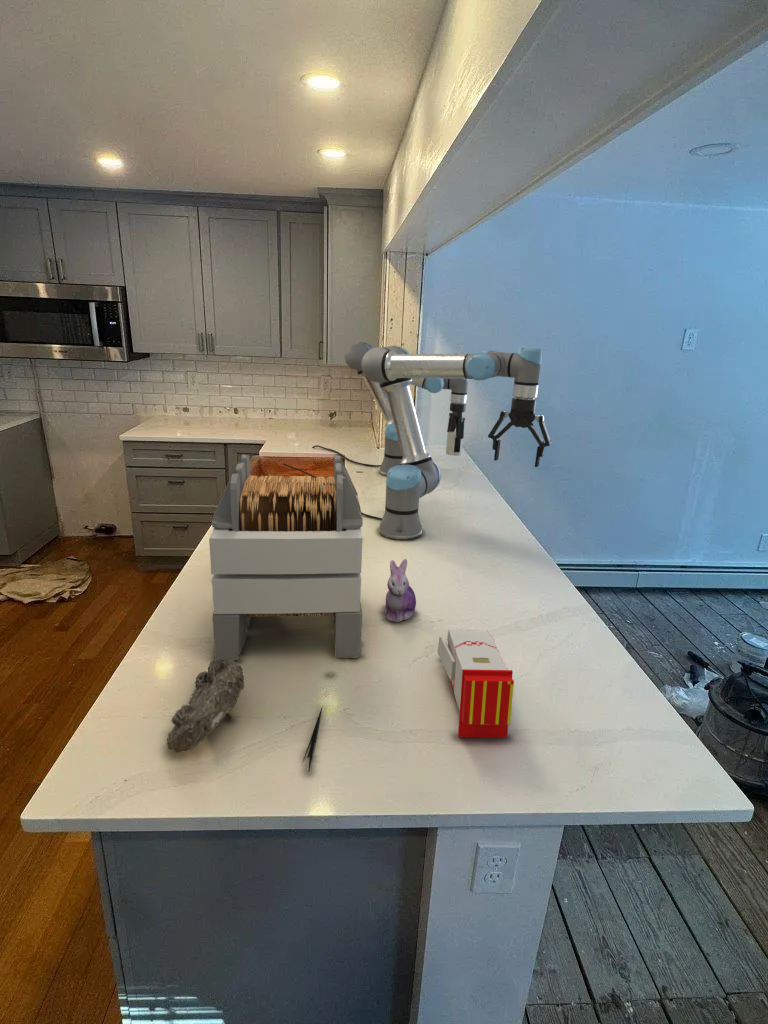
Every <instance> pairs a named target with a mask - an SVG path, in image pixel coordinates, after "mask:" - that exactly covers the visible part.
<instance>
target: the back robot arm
mask: <svg viewBox="0 0 768 1024" xmlns="http://www.w3.org/2000/svg"><path fill="white" fill-rule="evenodd" d="M373 348H374V346H373V345H371V343H367V342H358V343H353V344H350V345H349V346H348V347H347V348H346V349H345V352H344V362H345V363H346V366H348V367H349V368H351V369H352V370H355V372H356V373H357V375H358V377H361V378H363V380H364V382H365V383H366V386H367V388H368V389H369V391H370V393H371V395H372V397H373V399H374V401H375V403H376V405H377V407H378V409H379V410H380V412H381V414H382V416H383V418H384V420H385V425H384V427H385V430H384V448H383V449H384V451H383V453H384V454H383V458H382V461H381V464H369V463H363V462H359V461H354V460H352V459H350V458H348V457H346V456H345V455H344V454H342V453H341V452H339V451H337V450H335V449H332V448H327V447H325V446H321V445H317V444H315V445H313V446H312V447H311V449H314V448H320V449H323V450H327V451H330V452H333V453H336V454H337V455H338V456H340V457H341V458H343V459H345V460H347V461H348V462H349V463H353V464H355V465H361V466H365V467H374V468H379V474H380V475H382V476H384V477H387V473H388V471H389V469H391V468H392V467H394V466H397V465H399V466H400V462H401V460H402V459H403V456H402V452H401V448H400V444H399V441H398V437H397V433H396V429H395V425H394V421H393V417H392V414H391V410H390V406H389V402H388V398H387V394H386V392H384V391H383V390H381V388H380V384H379V382H373V381H371V380H369V379H368V378H367V377H366V376H365V375H364V373H363V371H362V359H363V357H364V355H365V354H366V353H367V352H368V351H369V350H371V349H373ZM469 381H470V379H445V378H412V382H411V384H410V386H411V385H412V386H414V387H417V388H421V389H423V390H427V392H429V393H432V394H437V393H439V392H441V391H443V390H450V398H449V401H450V404H449V411H450V412H449V413H448V423H447V429H446V432H447V433H448V432H456V438H455V446H454V452H460V445H461V439H462V440H463V439H464V437H465V436H464V434H465V421H466V417H463V413H465V412H466V408H467V404H466V403H467V399H468V389H469Z"/></svg>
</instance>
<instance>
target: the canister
mask: <svg viewBox="0 0 768 1024" xmlns="http://www.w3.org/2000/svg"><path fill="white" fill-rule="evenodd" d="M446 436H447V437H446V438H447V439H446V446H445V447H446V448H445V454H446V455H447V456H451V457H453V456H454V457H457V456H461V455H462V447H463V439H461V445H460V452H454V446H455V438H456V431H455V432H447V435H446Z"/></svg>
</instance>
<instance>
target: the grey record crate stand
mask: <svg viewBox="0 0 768 1024" xmlns="http://www.w3.org/2000/svg"><path fill="white" fill-rule="evenodd" d="M333 460H334V461H333V469H334V470H333V476H327V477H325V476H321V475H319V476H316V478H315V477H312V476H310V475H308V476H307V475H290V476H283V475H279V476H278V475H265V476H264V475H259V476H258V475H251V459H250V454H243V453H242V454H241V456H240V459H239V461H238V462H237V464H236V466H235V469H234V471H233V473H232V474H231V475H230V478H229V479H228V482H227V484H226V486H225V489H224V491H223V493H222V496H221V498H220V500H219V502H218V504H217V507H216V508H215V511H214V513H213V516H212V518H211V527H212V528H213V529H212V531H211V534H210V535H209V538H208V543H209V559H210V574H211V575H213V576H212V579H211V587H212V588H211V589H212V600H213V601H212V603H213V612H212V629H213V630H212V631H213V640H214V649H215V657H214V660H217V661H224V660H227V659H228V660H231V659H232V660H234V661H238V660H239V658H240V654H241V653H242V649H243V647H244V645H245V642H246V640H247V636H248V632H247V630H248V629H247V627H249V626H250V624H251V623H250V622H251V618H253V617H254V618H255V617H258V618H259V617H264V618H265V617H267V618H268V617H292V616H293V617H308V616H310V617H311V616H333V618H332V619H333V626H334V627H333V636H334V638H333V639H334V640H333V641H334V658H337V659H342V658H344V659H345V658H347V659H349V658H352V659H358V658H359V657H361V656H362V633H363V632H362V631H363V630H362V629H363V611H362V603H361V590H362V576H361V574H362V563H363V562H362V561H363V534H362V529H361V528H362V527H363V525H364V524H363V523H364V519H363V515H362V514H361V512H362V509H361V505H360V499H359V494H358V492H357V489H356V487H355V485H354V483H353V481H352V478H351V477H350V474H349V472H348V470H347V468H346V466H345V463H344V461H343V459H342V456H341V455H338V454H337V455H336V454H334V458H333Z"/></svg>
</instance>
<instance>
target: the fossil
mask: <svg viewBox="0 0 768 1024" xmlns="http://www.w3.org/2000/svg"><path fill="white" fill-rule="evenodd" d="M243 670H244V669H243V667H242V665H240V664H237V662H236V660H232V659H231V660H228V659H227V660H221V661H217V660H215V659H212V660H211V661H210V663H209V665H208V666H207V671H201V672H199V673H198V674H197V675H196V676H195V680H194V684H195V685H194V687H195V689H194V690H193V693H192V694H191V697H190V698H189V700H188V704H184V705H182V706H181V707H180V709H177V710H176V711H175V713H174V715H173V716H172V718H171V723H172V724H173V727H172V730H171V731H170V732H168V734H167V738H166V741H167V742H166V745H167V749H168V750H169V751H173V752H174V753H176V754H178V753H182V752H188V751H189V752H192V751H193V750H195V748H196V747H197V746H199V744H200V743H201V742H203V741H204V740H205V739H206V738H207V737H208V736H209V735H210V734H211V733H212V732H214V730H215V729H217V727H218V726H219V724H220V722H221V721H222V720H223V719H224V718H225V716H226V717H227V719H229V720H233V717H232V715H230V714H229V710H230V709H231V708H234V706H235V704H236V703H237V702H238V699H239V697H240V695H241V693H242V691H243V690H245V689H244V688H245V675H244V671H243Z"/></svg>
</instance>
